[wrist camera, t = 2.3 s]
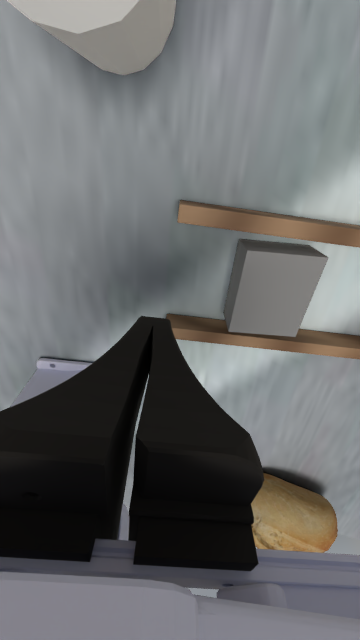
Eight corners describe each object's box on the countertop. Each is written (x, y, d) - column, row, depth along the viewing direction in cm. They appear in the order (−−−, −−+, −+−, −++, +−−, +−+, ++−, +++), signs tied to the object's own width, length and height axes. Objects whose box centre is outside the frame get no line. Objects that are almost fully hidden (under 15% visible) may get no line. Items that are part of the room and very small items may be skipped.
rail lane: (165, 328, 21) (162, 355, 18) (181, 191, 16) (180, 197, 13) (389, 353, 22) (420, 382, 19) (479, 234, 17) (543, 249, 14)
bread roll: (295, 508, 40) (317, 578, 33) (216, 487, 37) (224, 560, 30) (340, 483, 35) (377, 558, 29) (255, 456, 32) (274, 534, 25)
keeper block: (223, 311, 21) (228, 331, 18) (238, 237, 17) (247, 250, 15) (281, 315, 21) (295, 336, 18) (307, 244, 18) (328, 257, 15)
